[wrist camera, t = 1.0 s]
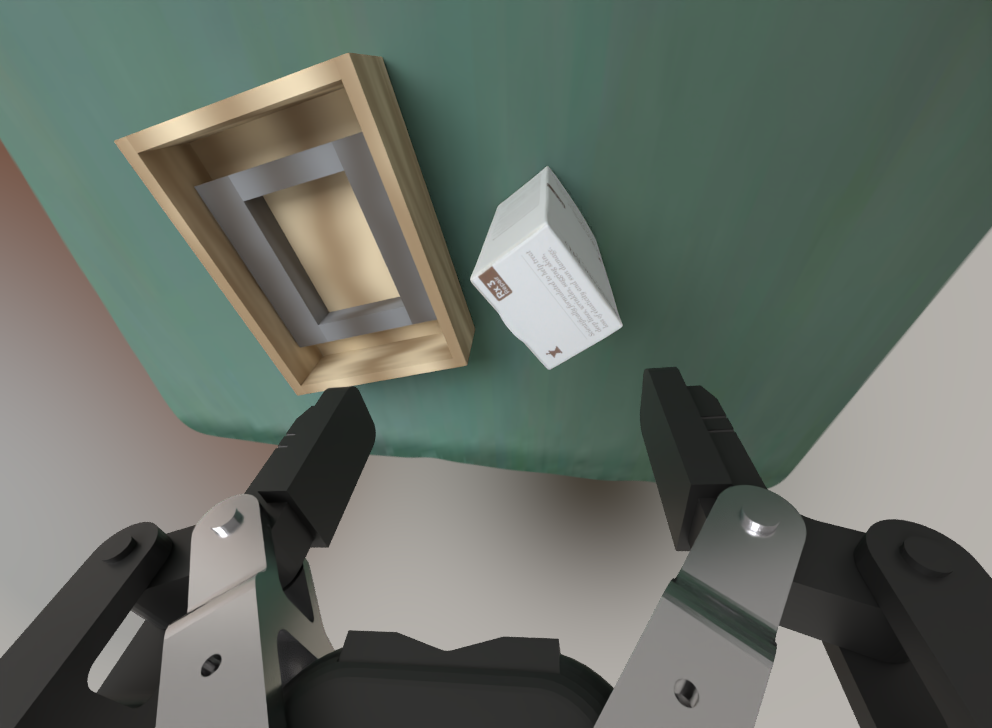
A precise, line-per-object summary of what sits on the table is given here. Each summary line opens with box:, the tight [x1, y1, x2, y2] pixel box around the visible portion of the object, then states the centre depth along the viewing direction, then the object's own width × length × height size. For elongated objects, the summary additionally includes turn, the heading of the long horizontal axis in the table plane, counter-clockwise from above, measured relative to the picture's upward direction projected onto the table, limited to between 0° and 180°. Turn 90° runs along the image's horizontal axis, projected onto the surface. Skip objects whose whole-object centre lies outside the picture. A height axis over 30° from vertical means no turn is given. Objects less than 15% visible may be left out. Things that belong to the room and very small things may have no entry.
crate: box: [114, 53, 475, 395], centre depth 26 cm, size 14×18×5 cm
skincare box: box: [470, 166, 623, 370], centre depth 22 cm, size 6×4×12 cm
